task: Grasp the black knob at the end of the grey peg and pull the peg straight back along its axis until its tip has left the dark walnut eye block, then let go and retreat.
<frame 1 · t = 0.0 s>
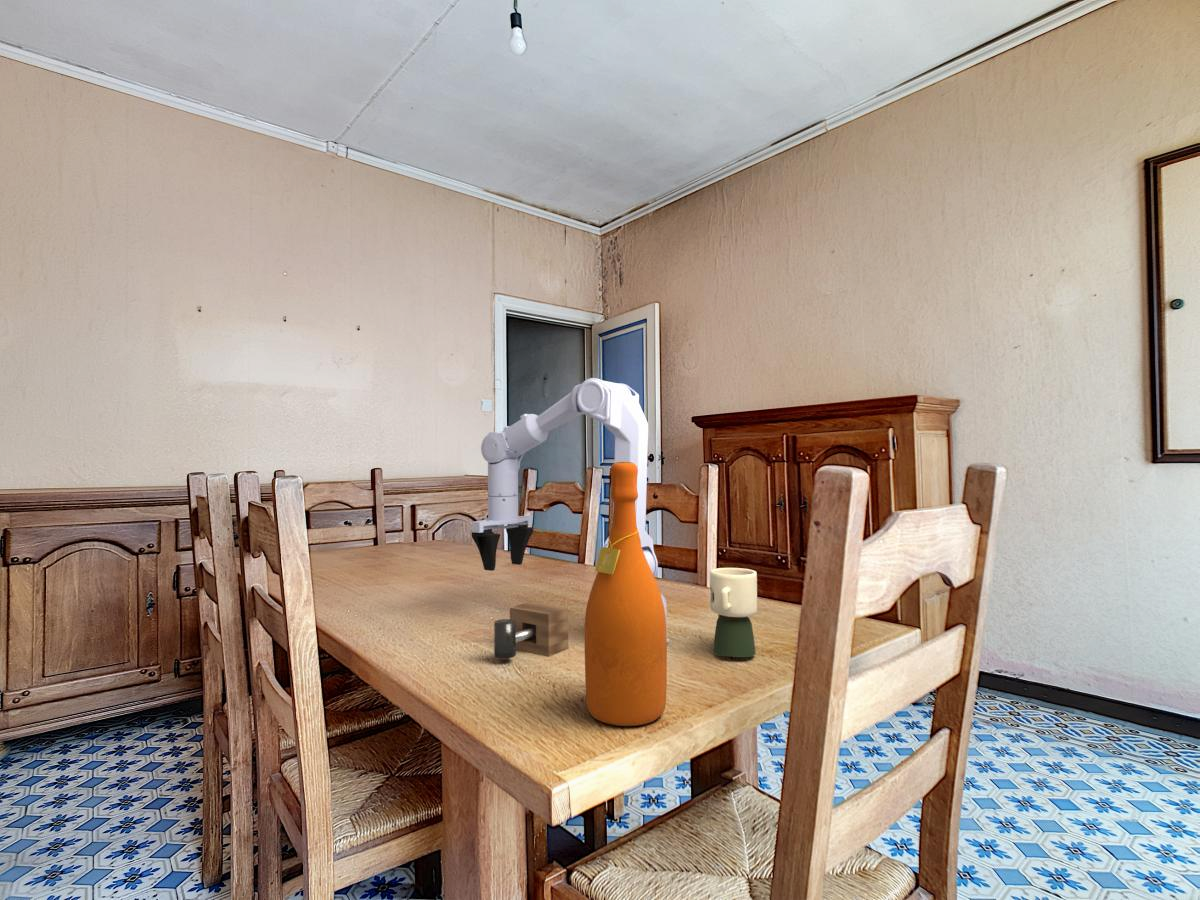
hand: (503, 567, 116), 10 cm above the table, tool pointing down, fingers open, 7 cm apart
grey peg: (526, 630, 96), point 4 cm above the table, slide at 0.0 cm
eye block: (539, 648, 98), on the table
character mug: (734, 657, 93), on the table
wine bottle: (626, 714, 72), on the table
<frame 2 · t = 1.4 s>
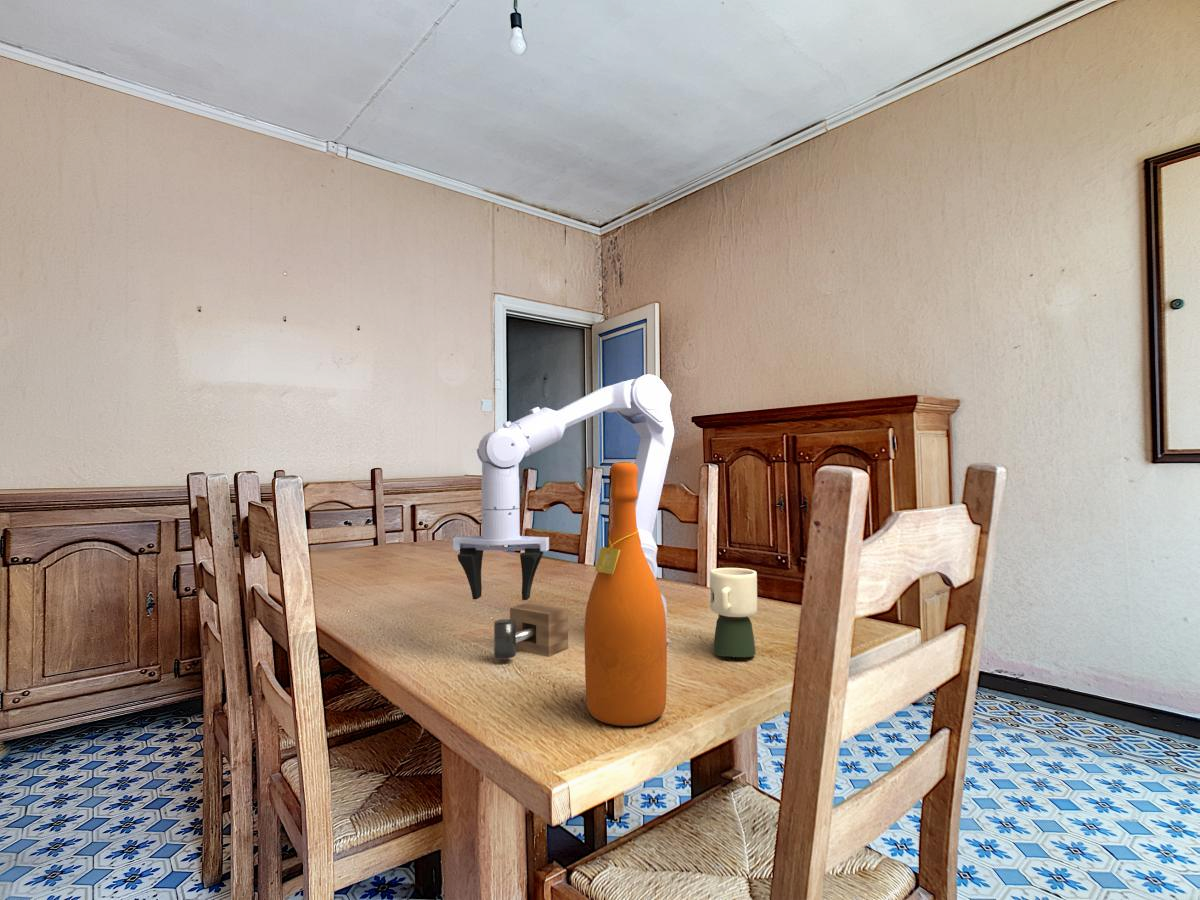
hand: (501, 598, 92), 9 cm above the table, tool pointing down, fingers open, 7 cm apart
nothing on the table moved.
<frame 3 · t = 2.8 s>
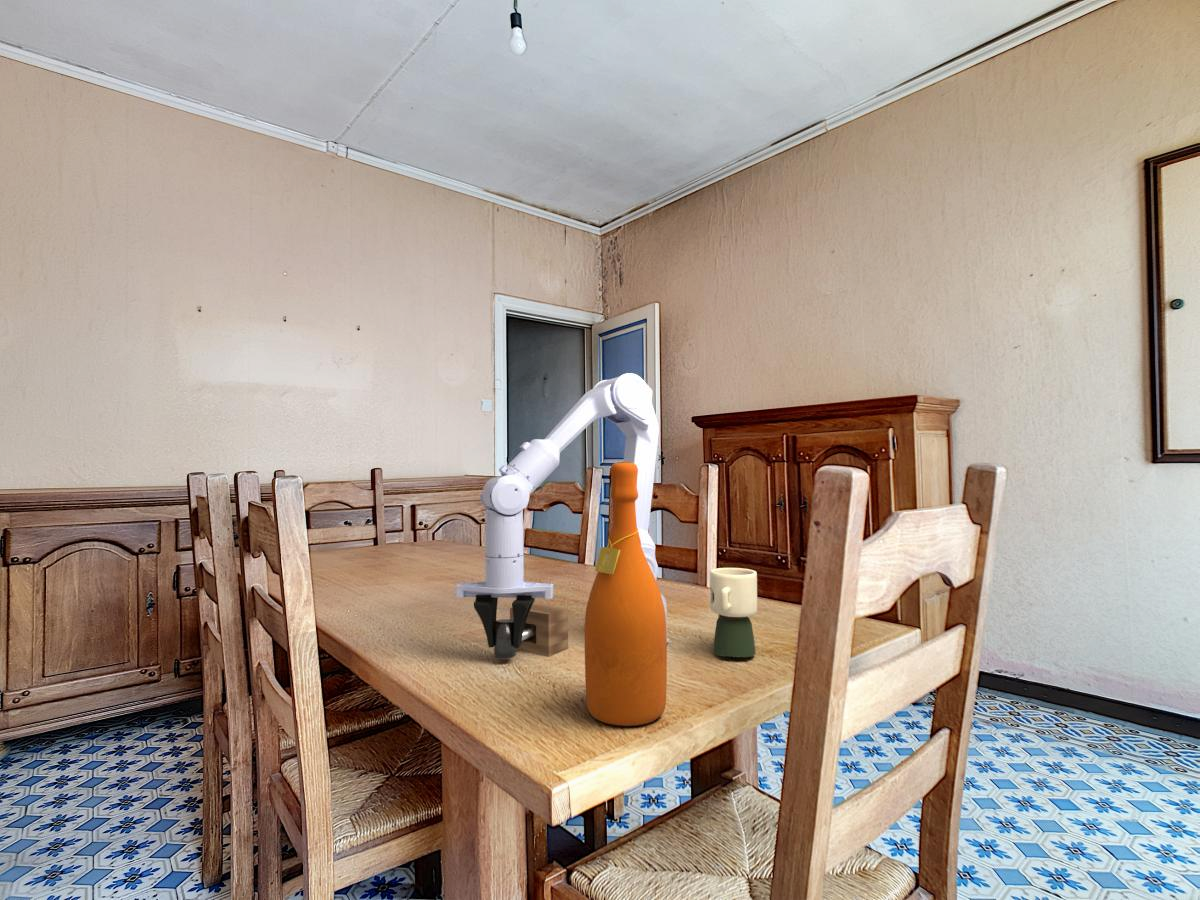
hand: (505, 645, 91), 2 cm above the table, tool pointing down, fingers closed on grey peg, 3 cm apart
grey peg: (526, 630, 96), point 4 cm above the table, slide at 0.0 cm, touching gripper
everything else where it was.
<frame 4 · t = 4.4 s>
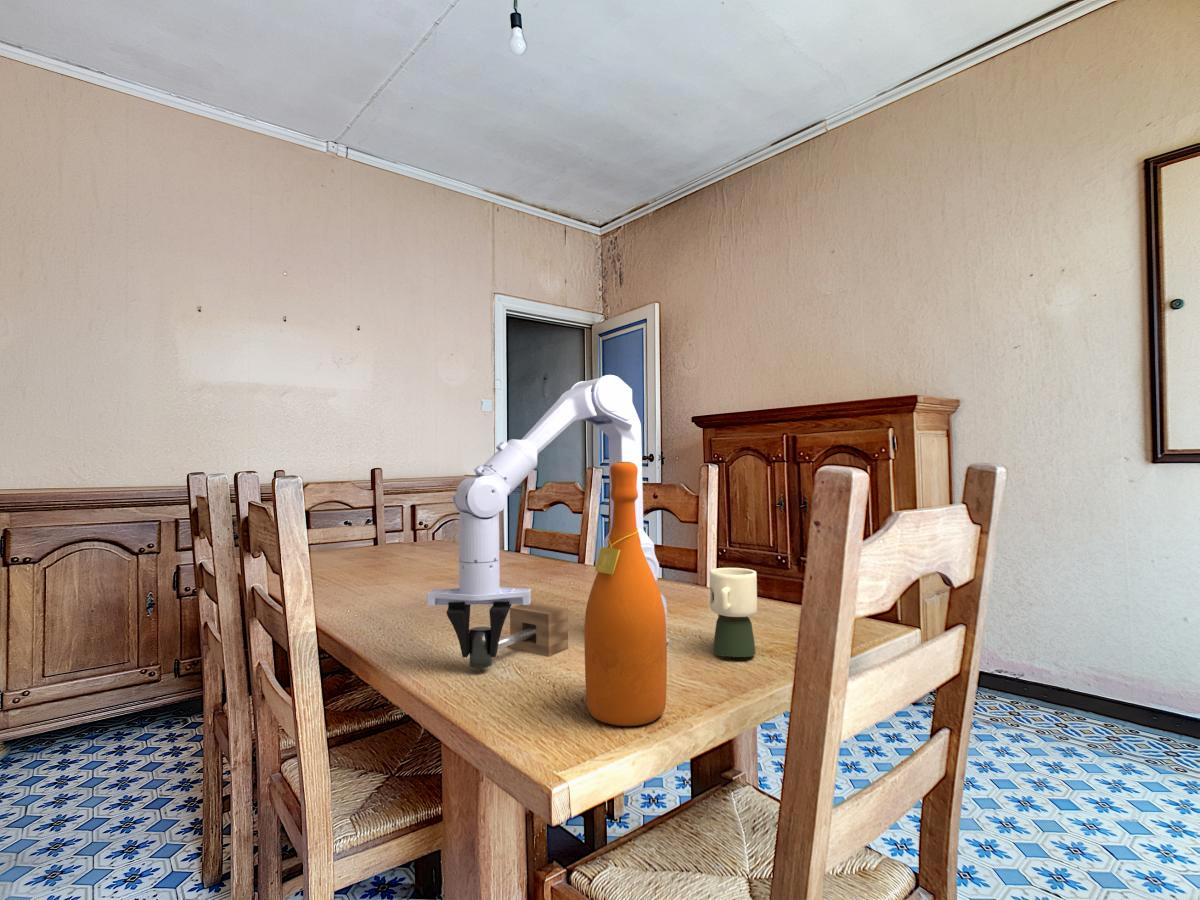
hand: (479, 655, 87), 2 cm above the table, tool pointing down, fingers open, 3 cm apart
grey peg: (504, 638, 91), point 4 cm above the table, slide at 5.1 cm, touching gripper
everything else where it was.
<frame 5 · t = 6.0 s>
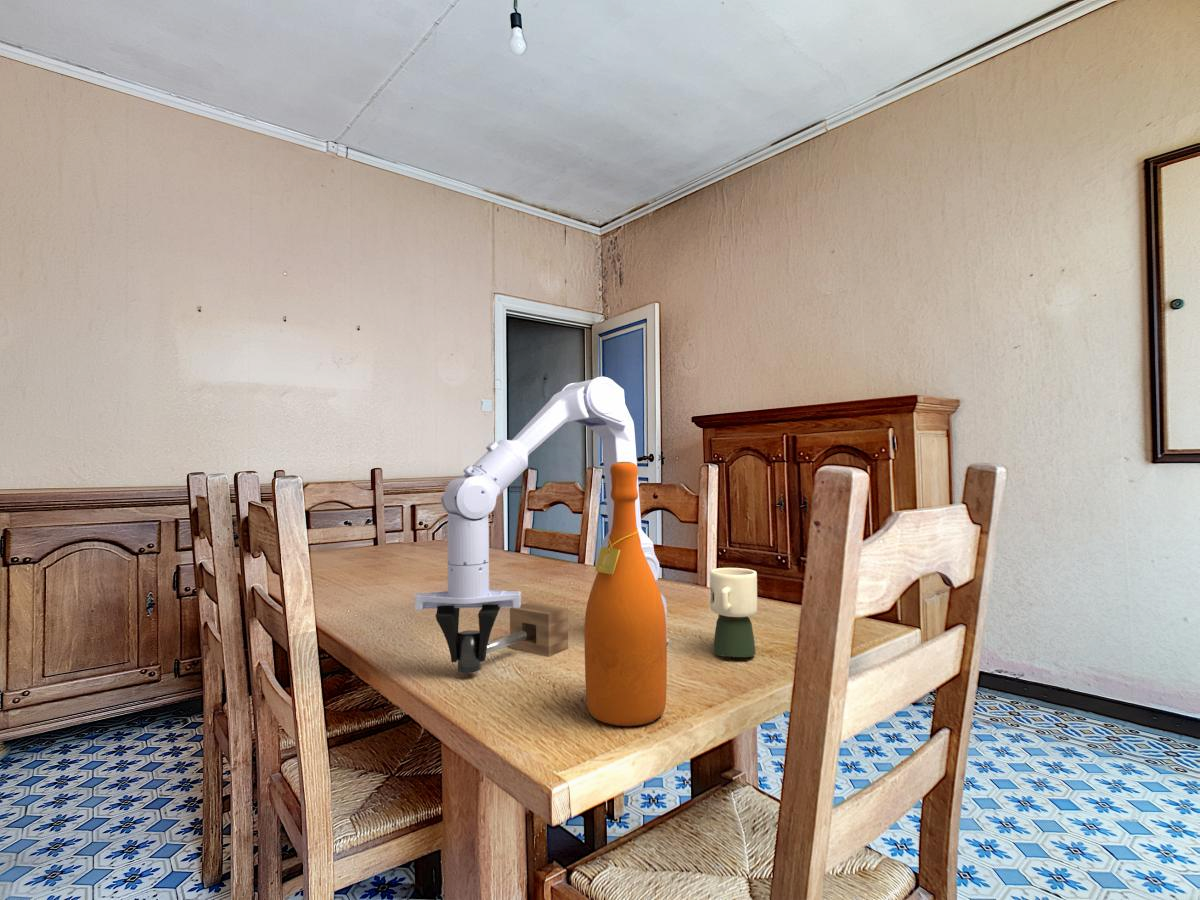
hand: (468, 659, 85), 2 cm above the table, tool pointing down, fingers closed on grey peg, 3 cm apart
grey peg: (493, 642, 89), point 4 cm above the table, slide at 7.3 cm, touching gripper
everything else where it was.
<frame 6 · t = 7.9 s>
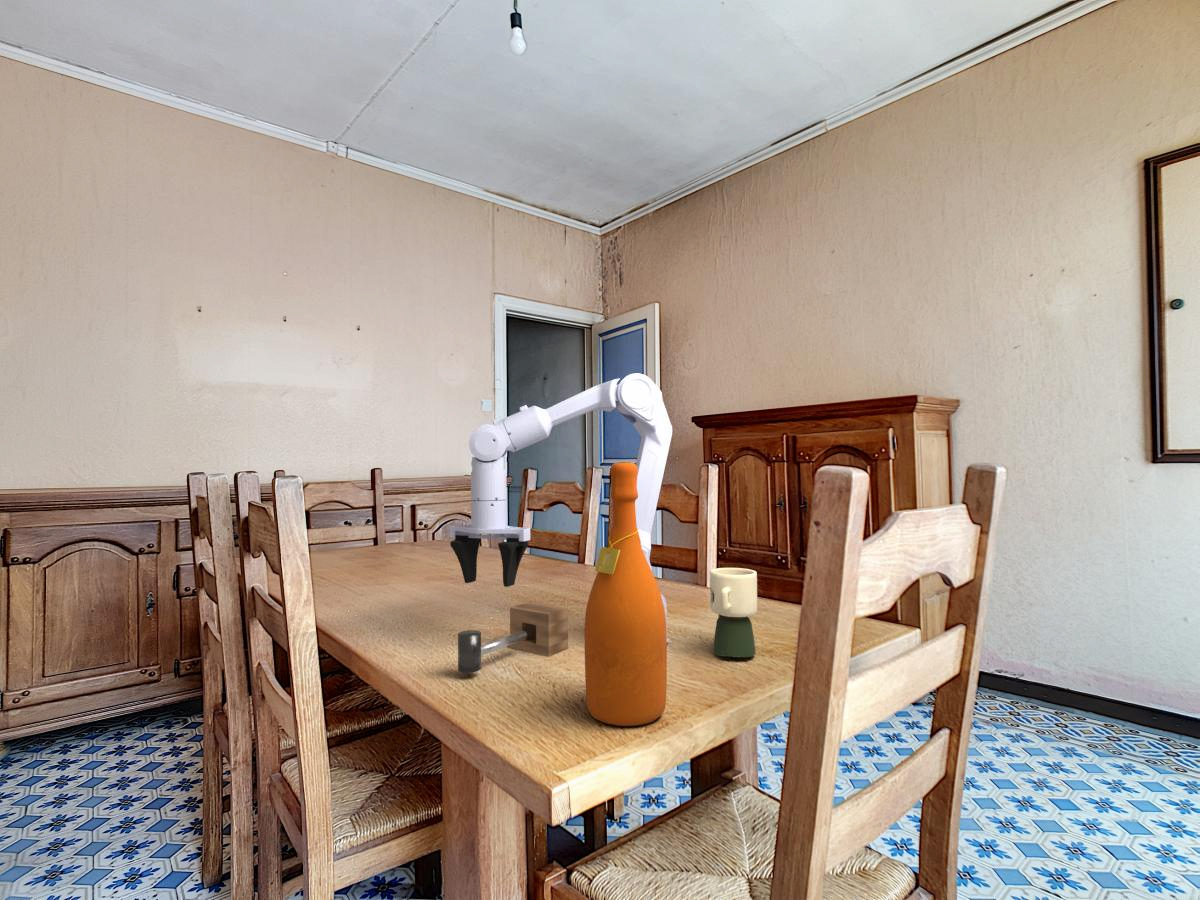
hand: (489, 583, 98), 10 cm above the table, tool pointing down, fingers open, 7 cm apart
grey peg: (494, 642, 90), point 4 cm above the table, slide at 7.3 cm
everything else where it was.
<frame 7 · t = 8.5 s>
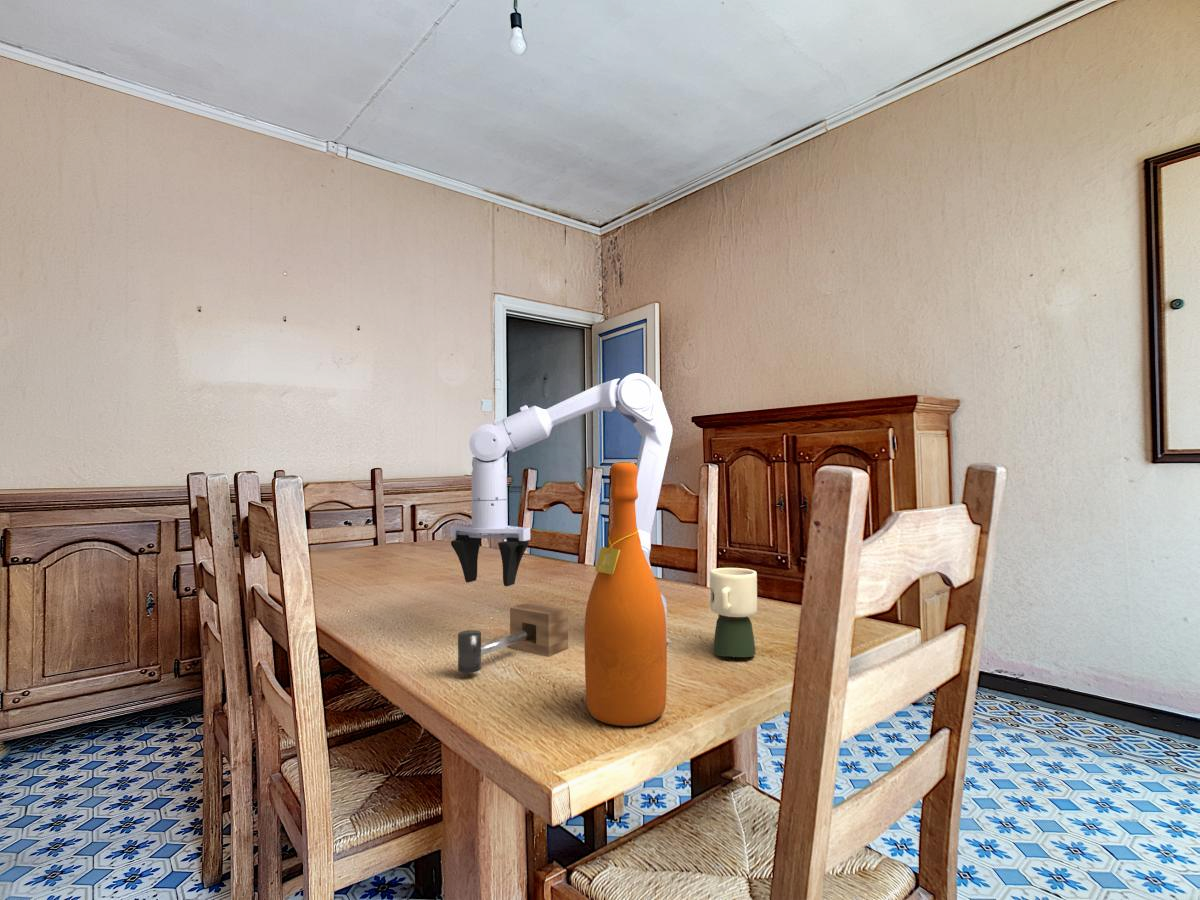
hand: (489, 583, 99), 10 cm above the table, tool pointing down, fingers open, 7 cm apart
nothing on the table moved.
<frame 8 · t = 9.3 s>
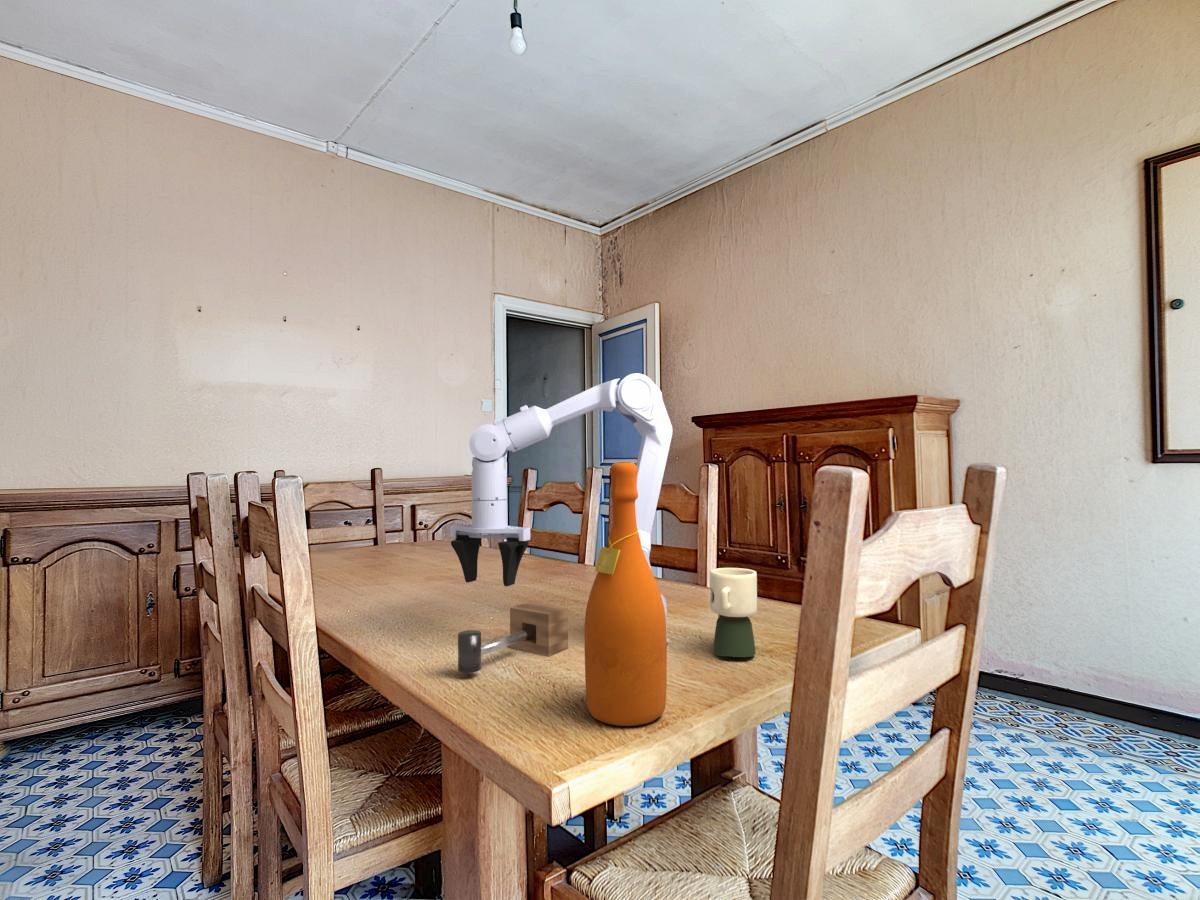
hand: (489, 583, 99), 10 cm above the table, tool pointing down, fingers open, 7 cm apart
nothing on the table moved.
at the end: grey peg slide at 7.3 cm; the gripper is holding nothing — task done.
